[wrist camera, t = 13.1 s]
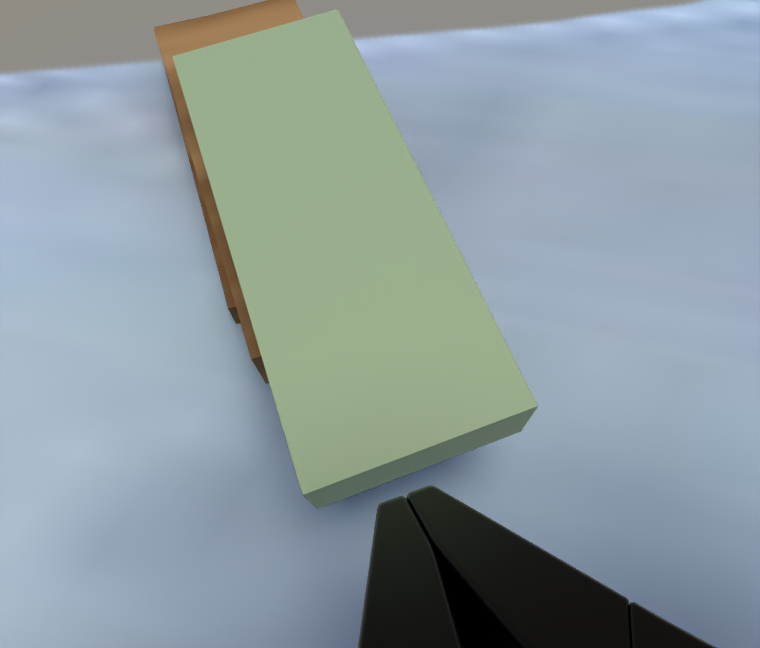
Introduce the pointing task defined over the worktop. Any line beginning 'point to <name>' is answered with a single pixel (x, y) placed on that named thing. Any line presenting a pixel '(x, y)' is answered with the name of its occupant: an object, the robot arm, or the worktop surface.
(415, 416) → the green domino
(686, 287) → the worktop surface
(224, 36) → the walnut domino middle
